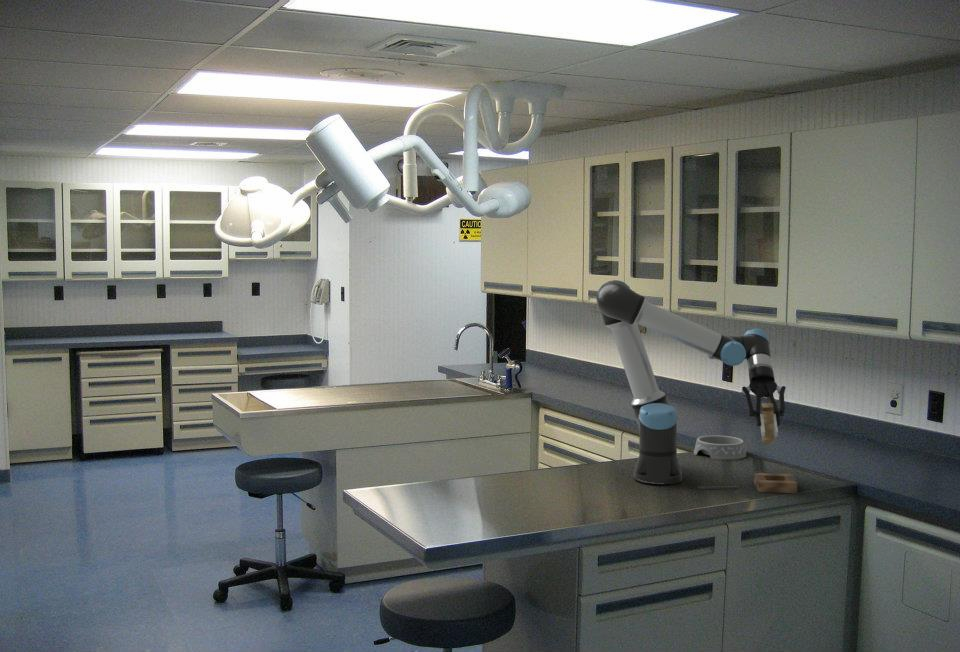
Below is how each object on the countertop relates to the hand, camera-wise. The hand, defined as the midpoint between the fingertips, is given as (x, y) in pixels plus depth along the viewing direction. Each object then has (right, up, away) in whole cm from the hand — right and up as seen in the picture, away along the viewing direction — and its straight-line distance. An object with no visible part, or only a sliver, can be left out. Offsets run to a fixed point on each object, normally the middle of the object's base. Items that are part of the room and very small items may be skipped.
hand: (769, 434), depth 275 cm
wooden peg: (+1, -3, +4) cm, 5 cm away
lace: (-14, -17, +4) cm, 23 cm away
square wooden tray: (+3, -17, +4) cm, 17 cm away
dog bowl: (-2, -13, +49) cm, 51 cm away
